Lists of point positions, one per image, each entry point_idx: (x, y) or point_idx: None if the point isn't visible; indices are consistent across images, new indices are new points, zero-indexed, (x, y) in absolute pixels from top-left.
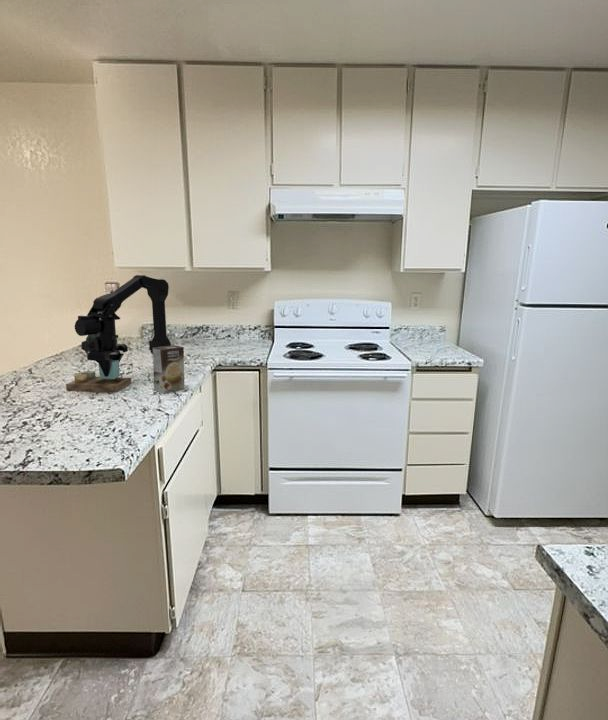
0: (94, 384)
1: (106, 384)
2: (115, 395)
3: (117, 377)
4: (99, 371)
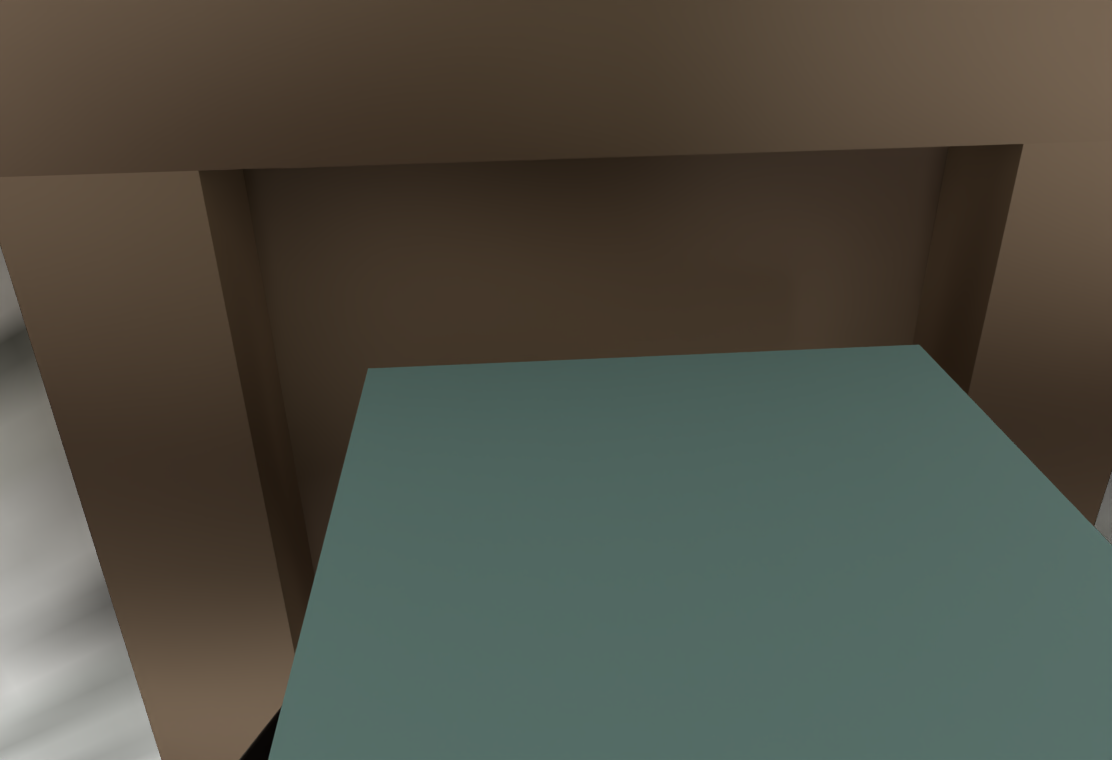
0: (85, 262)
1: (221, 582)
2: (42, 742)
3: (1063, 481)
4: (317, 575)
